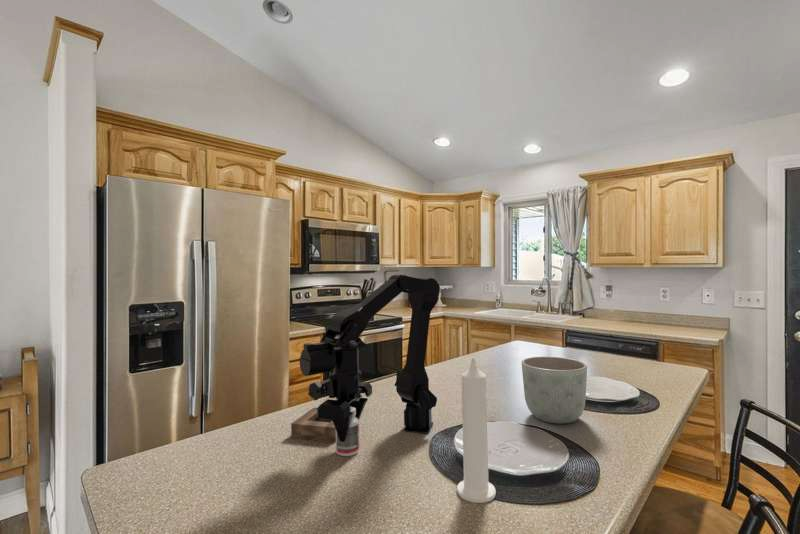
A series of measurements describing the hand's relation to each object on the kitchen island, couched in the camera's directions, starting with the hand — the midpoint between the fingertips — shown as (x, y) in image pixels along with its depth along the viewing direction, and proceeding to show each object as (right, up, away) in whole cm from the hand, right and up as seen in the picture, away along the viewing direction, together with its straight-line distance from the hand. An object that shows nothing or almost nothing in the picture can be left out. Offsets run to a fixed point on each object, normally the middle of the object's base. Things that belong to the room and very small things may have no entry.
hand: (347, 436), depth 91 cm
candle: (+26, -3, -18) cm, 32 cm away
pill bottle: (0, -4, 0) cm, 4 cm away
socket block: (-8, -4, +13) cm, 15 cm away
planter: (+55, -3, +18) cm, 58 cm away
